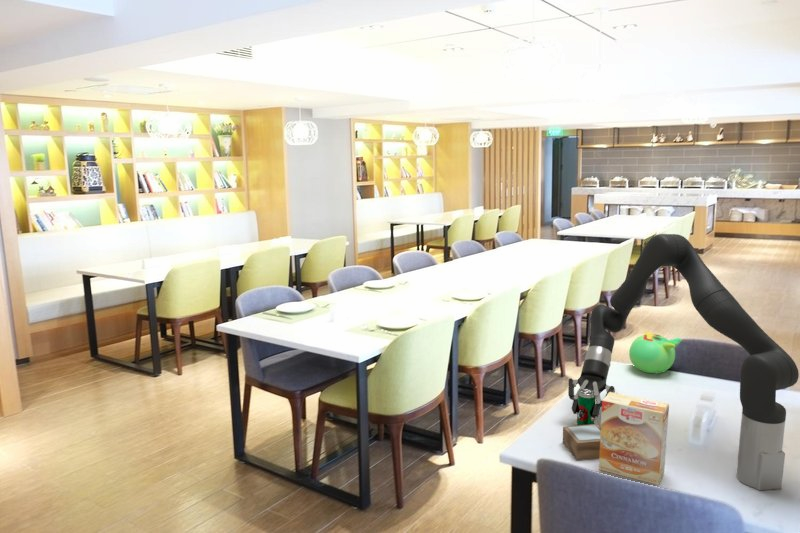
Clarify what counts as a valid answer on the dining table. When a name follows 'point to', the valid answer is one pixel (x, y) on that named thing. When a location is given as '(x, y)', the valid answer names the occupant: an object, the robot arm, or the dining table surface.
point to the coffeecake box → (633, 437)
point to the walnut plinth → (583, 441)
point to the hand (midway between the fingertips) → (584, 414)
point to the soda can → (585, 407)
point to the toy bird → (653, 353)
